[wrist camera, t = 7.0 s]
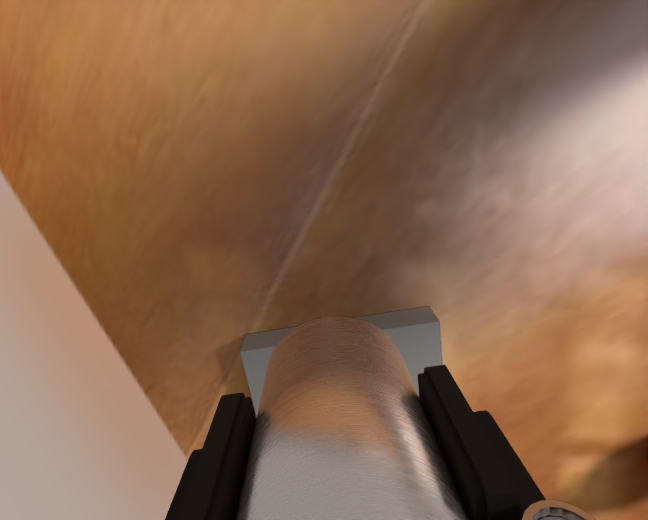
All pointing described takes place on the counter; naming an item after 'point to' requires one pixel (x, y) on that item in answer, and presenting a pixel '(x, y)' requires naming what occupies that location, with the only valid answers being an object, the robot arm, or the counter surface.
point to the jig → (401, 326)
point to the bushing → (343, 433)
